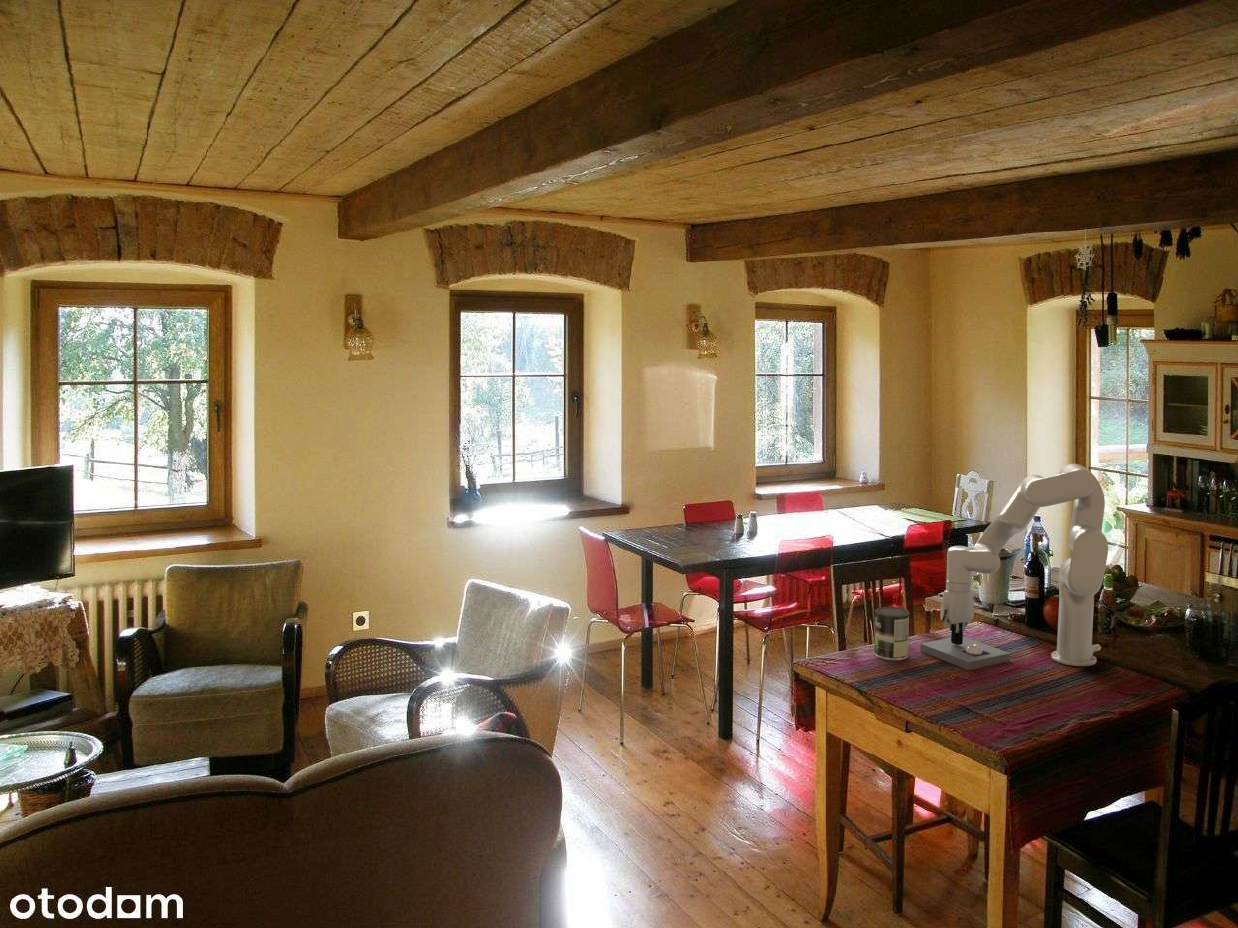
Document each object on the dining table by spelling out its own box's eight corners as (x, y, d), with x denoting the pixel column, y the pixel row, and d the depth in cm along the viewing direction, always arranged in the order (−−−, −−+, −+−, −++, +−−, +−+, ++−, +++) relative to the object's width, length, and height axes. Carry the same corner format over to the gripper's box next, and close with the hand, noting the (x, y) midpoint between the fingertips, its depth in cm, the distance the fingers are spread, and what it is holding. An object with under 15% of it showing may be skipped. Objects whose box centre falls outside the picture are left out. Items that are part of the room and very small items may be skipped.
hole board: (960, 643, 324) (960, 635, 324) (1009, 660, 306) (1010, 653, 306) (920, 651, 316) (920, 643, 316) (968, 670, 299) (968, 661, 298)
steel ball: (988, 656, 305) (977, 661, 309) (982, 641, 307) (971, 645, 311) (976, 658, 303) (965, 663, 307) (970, 642, 305) (959, 647, 309)
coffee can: (876, 660, 309) (877, 615, 307) (872, 649, 319) (873, 606, 317) (910, 661, 307) (911, 616, 305) (905, 650, 317) (907, 607, 316)
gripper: (967, 580, 318) (965, 636, 320) (931, 586, 311) (930, 643, 314) (985, 585, 311) (983, 643, 314) (950, 592, 304) (948, 650, 307)
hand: (956, 643), depth 314 cm, fingers closed
